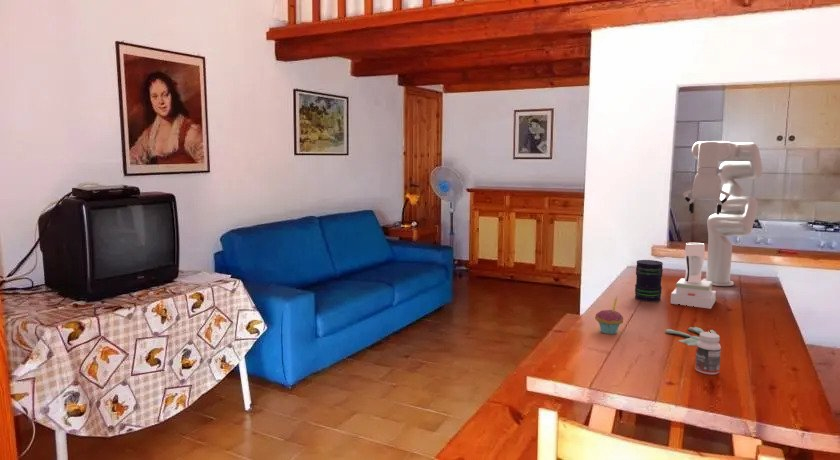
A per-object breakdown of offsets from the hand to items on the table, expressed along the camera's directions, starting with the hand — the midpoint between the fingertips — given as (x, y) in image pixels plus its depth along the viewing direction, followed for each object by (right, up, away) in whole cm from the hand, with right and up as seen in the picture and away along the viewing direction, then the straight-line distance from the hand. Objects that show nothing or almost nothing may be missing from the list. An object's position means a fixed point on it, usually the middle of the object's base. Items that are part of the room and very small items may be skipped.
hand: (704, 213), depth 229 cm
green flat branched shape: (-30, -41, -51) cm, 72 cm away
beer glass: (-10, -27, -11) cm, 31 cm away
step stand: (-10, -35, -11) cm, 38 cm away
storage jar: (-26, -34, -5) cm, 43 cm away
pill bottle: (-41, -44, -82) cm, 102 cm away
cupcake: (-56, -40, -48) cm, 84 cm away
